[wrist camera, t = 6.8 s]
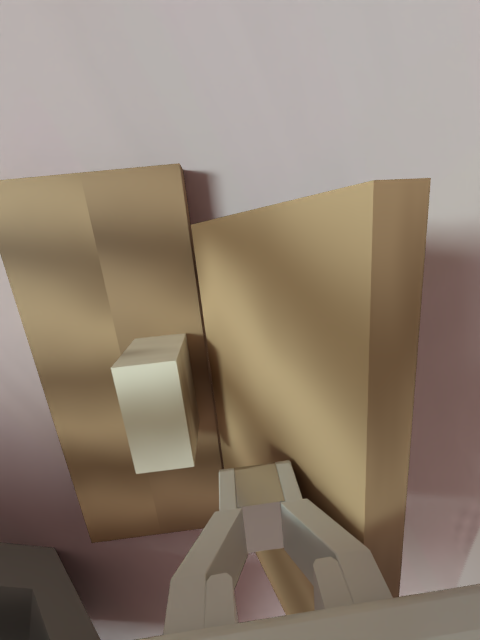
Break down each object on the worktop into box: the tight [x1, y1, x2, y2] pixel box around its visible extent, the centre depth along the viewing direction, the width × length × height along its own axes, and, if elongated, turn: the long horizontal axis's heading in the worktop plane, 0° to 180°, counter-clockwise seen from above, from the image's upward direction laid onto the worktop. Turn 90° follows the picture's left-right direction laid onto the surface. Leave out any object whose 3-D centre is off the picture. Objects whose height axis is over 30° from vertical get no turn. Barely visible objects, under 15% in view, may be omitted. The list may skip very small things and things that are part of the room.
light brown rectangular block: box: [0, 164, 224, 543], centre depth 17 cm, size 24×10×6 cm, turn 6°
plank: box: [191, 178, 431, 615], centre depth 13 cm, size 18×12×1 cm
